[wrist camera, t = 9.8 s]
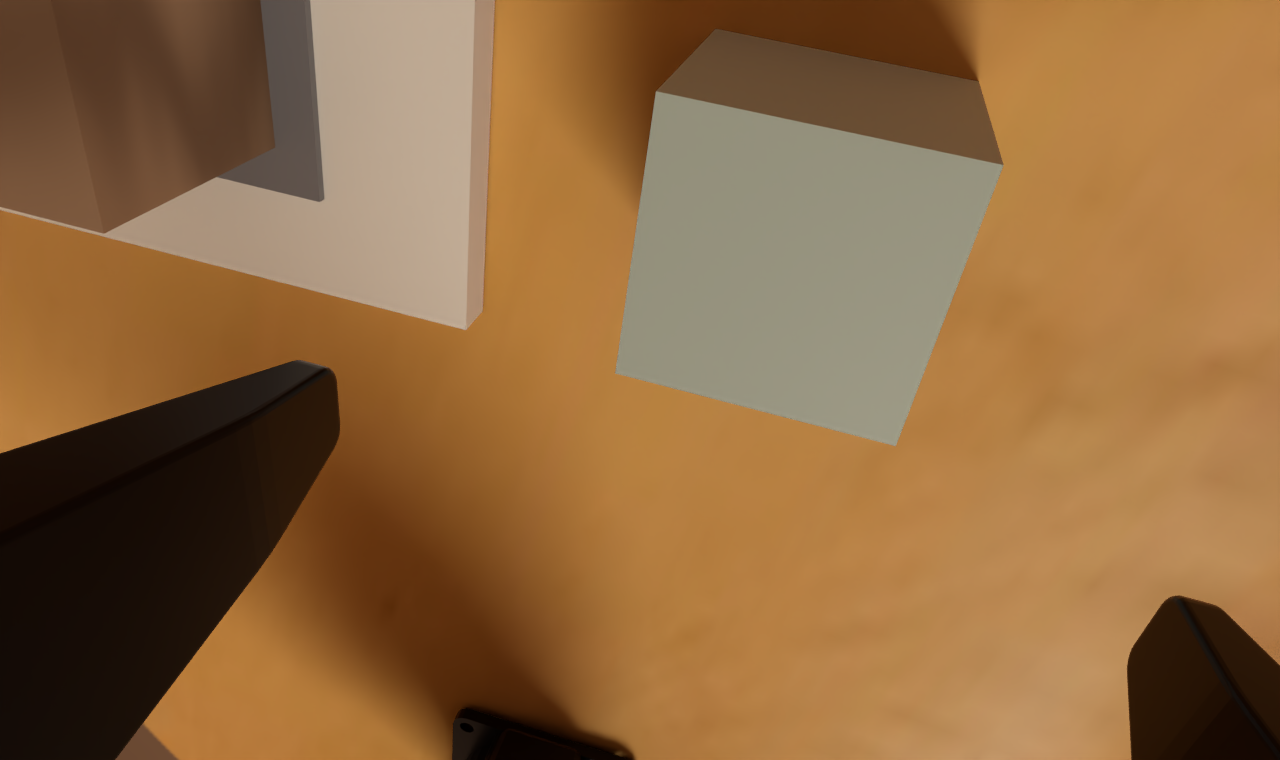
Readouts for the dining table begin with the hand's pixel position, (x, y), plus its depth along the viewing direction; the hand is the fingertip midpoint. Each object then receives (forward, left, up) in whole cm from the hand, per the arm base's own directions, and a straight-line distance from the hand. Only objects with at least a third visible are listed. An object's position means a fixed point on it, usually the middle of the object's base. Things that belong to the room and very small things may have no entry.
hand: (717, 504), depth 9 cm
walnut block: (+1, +14, -9) cm, 17 cm away
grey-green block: (0, 0, -10) cm, 11 cm away
